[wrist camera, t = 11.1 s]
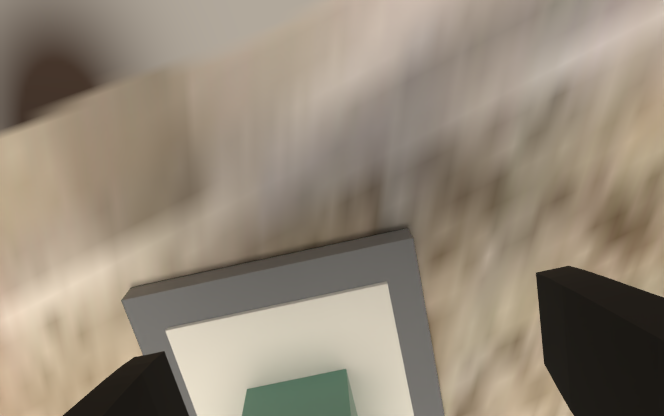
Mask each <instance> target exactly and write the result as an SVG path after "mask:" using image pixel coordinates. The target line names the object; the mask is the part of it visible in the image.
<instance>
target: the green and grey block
mask: <svg viewBox="0 0 664 416" xmlns="http://www.w3.org/2000/svg"><path fill="white" fill-rule="evenodd" d="M242 416H358V415H357V411H356V407H355V403H354V399H353V395H352V391H351V386H350V382H349V378H348V374H347V370H346V369H342V370H337V371H332V372H327V373H322V374H318V375H313V376H308V377H303V378H298V379H293V380H288V381H284V382H279V383H274V384H269V385H264V386H259V387H255V388H250V389H247V391H246V396H245V402H244V407H243V412H242Z"/></svg>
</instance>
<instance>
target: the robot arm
mask: <svg viewBox="0 0 664 416" xmlns="http://www.w3.org/2000/svg"><path fill="white" fill-rule="evenodd" d="M536 278H537V289H538V300H539V311H540V322H541V333H542V344H543V355H544V364H545V366H546V368H547V369H548V371H549V373H550V375H551V377H552V379H553V380H554V382H555V384H556V386H557V388H558V390H559V391H560V393H561V395H562V396H563V398H564V400H565V402H566V403H567V405H568V407H569V408H570V410H571V412H572V413H573V415H574V416H664V298H663V297H660V296H657V295H654V294H652V293H649V292H646V291H643V290H640V289H637V288H635V287H632V286H629V285H626V284H623V283H621V282H618V281H615V280H612V279H609V278H606V277H603V276H600V275H597V274H595V273H592V272H588V271H585V270H582V269H579V268H575V267H571V266H566V267H561V268H556V269H552V270H547V271H542V272H537V273H536ZM63 416H189V414H188V412H187V409H186V406H185V404H184V401H183V398H182V396H181V393H180V391H179V388H178V385H177V383H176V380H175V378H174V375H173V372H172V370H171V367H170V365H169V362H168V359H167V357H166V354H165V351H162V352H158V353H153V354H148V355H143V356H139V357H134V358H133V359H131V360H130V361H128V362H127V363H125V364H124V365H123V366H121V367H120V368H119V369H117V370H116V371H115V372H114V373H112V374H111V375H110V376H109V377H108V378H106V379H105V380H104V381H103V382H102V383H100V384H99V385H98V386H97V387H96V388H94V389H93V390H92V391H91V392H90V393H89V394H87V395H86V396H85V397H84V398H83V399H82V400H80V401H79V402H78V403H77V404H76V405H75V406H73V407H72V408H71V409H70V410H69V411H68V412H66V413H65V414H64V415H63Z"/></svg>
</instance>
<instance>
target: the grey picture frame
mask: <svg viewBox="0 0 664 416" xmlns="http://www.w3.org/2000/svg"><path fill="white" fill-rule="evenodd" d="M121 301H122V304H123V306H124V309H125V311H126V314H127V316H128V319H129V321H130V324H131V326H132V329H133V331H134V334H135V336H136V339H137V341H138V344H139V346H140V349H141V351H142V354H143V355H148V354H153V353H158V352H162V351H165V354H166V357H167V359H168V362H169V365H170V367H171V370H172V372H173V375H174V378H175V380H176V383H177V385H178V388H179V391H180V393H181V396H182V398H183V401H184V404H185V406H186V409H187V412H188V414H189V416H242V412H243V407H244V402H245V396H246V391H247V389H250V388H255V387H259V386H264V385H269V384H274V383H279V382H284V381H288V380H293V379H298V378H303V377H308V376H313V375H318V374H322V373H327V372H332V371H337V370H342V369H346V370H347V374H348V378H349V382H350V386H351V391H352V395H353V399H354V403H355V407H356V411H357V415H358V416H444V410H443V404H442V399H441V393H440V387H439V382H438V376H437V370H436V364H435V359H434V353H433V347H432V342H431V336H430V330H429V325H428V319H427V313H426V308H425V302H424V296H423V291H422V285H421V279H420V274H419V268H418V262H417V256H416V251H415V245H414V239H413V236H412V235H411V233H410V231H409V229H408V228H406V229H402V230H397V231H393V232H388V233H383V234H379V235H374V236H369V237H365V238H360V239H355V240H351V241H346V242H341V243H337V244H332V245H328V246H323V247H318V248H314V249H309V250H304V251H300V252H295V253H290V254H286V255H281V256H276V257H272V258H267V259H263V260H258V261H253V262H249V263H244V264H239V265H235V266H230V267H225V268H221V269H216V270H211V271H207V272H202V273H198V274H193V275H188V276H184V277H179V278H174V279H170V280H165V281H160V282H156V283H151V284H146V285H142V286H137V287H133V288H130V290H129V291H128V292H127V294H126V295H125V296H124V298H123V299H122V300H121Z"/></svg>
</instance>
